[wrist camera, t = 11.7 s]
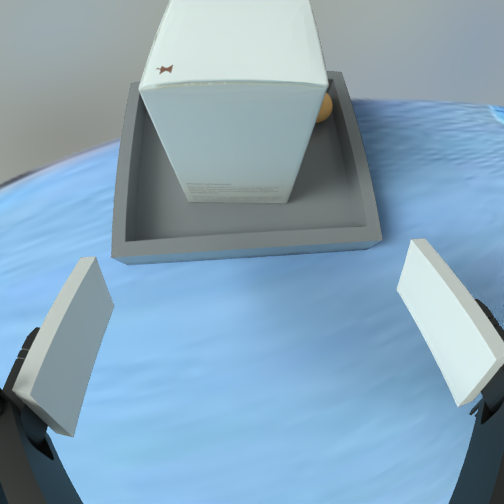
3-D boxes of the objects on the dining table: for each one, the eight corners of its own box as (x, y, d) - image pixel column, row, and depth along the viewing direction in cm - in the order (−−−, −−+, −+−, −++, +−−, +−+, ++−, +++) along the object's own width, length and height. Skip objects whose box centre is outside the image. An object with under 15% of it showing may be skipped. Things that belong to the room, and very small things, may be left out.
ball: (324, 102, 24) (332, 81, 21) (330, 130, 23) (340, 109, 21) (290, 101, 24) (295, 79, 21) (295, 129, 23) (301, 107, 20)
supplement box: (289, 206, 22) (333, 90, 10) (186, 204, 22) (129, 89, 10) (286, 122, 23) (313, -6, 11) (195, 121, 23) (167, -6, 11)
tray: (333, 92, 25) (341, 72, 22) (366, 249, 22) (382, 240, 19) (140, 103, 25) (130, 83, 22) (127, 265, 22) (111, 257, 19)
